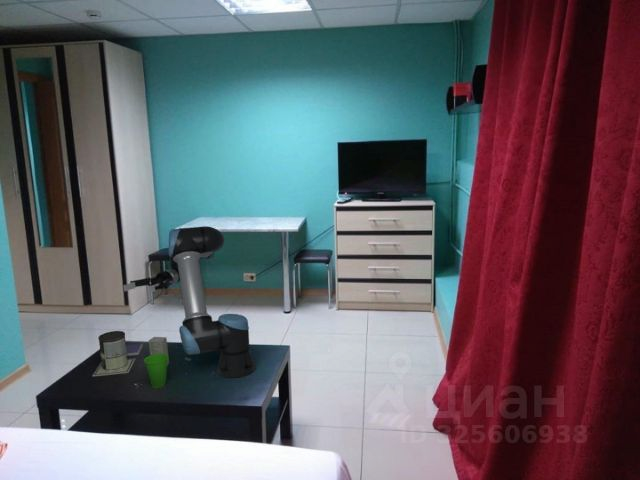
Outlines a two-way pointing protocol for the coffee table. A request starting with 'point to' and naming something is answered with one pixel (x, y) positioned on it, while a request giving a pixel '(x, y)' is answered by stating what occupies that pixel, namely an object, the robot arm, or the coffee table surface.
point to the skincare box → (158, 346)
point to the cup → (157, 369)
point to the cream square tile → (125, 370)
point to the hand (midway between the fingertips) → (136, 289)
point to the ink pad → (133, 349)
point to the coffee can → (113, 351)
